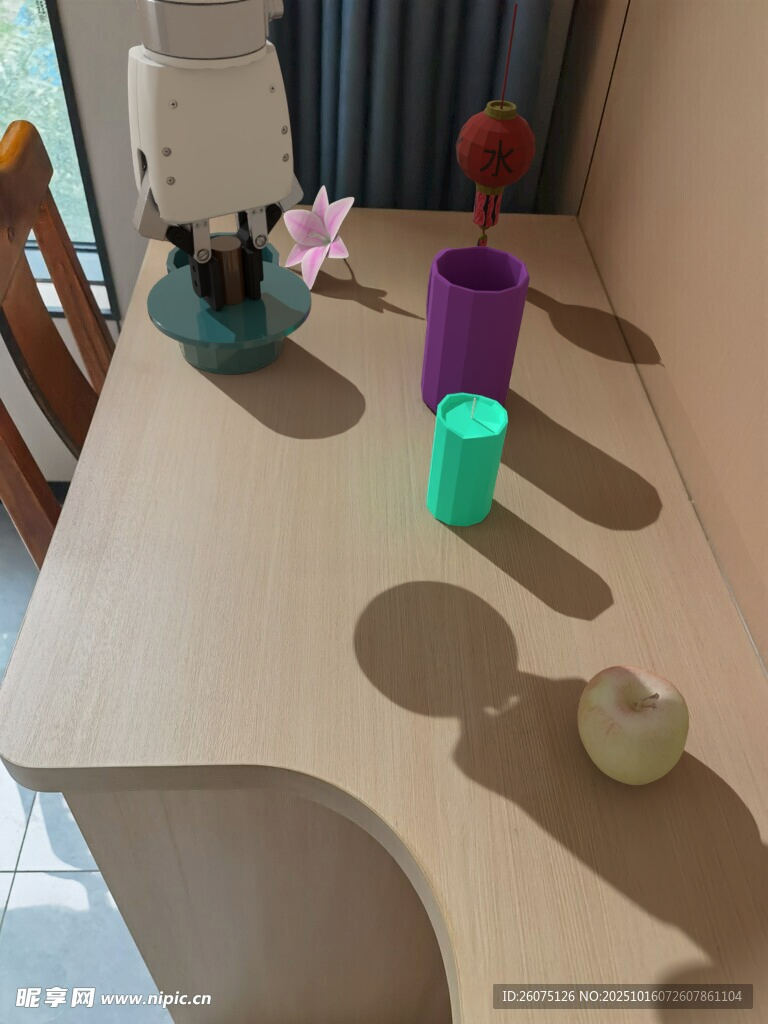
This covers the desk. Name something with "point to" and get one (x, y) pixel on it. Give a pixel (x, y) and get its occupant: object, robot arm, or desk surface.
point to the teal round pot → (234, 358)
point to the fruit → (633, 724)
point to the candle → (465, 458)
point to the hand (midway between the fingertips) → (229, 295)
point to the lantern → (494, 153)
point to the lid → (230, 304)
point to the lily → (317, 234)
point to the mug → (472, 323)
